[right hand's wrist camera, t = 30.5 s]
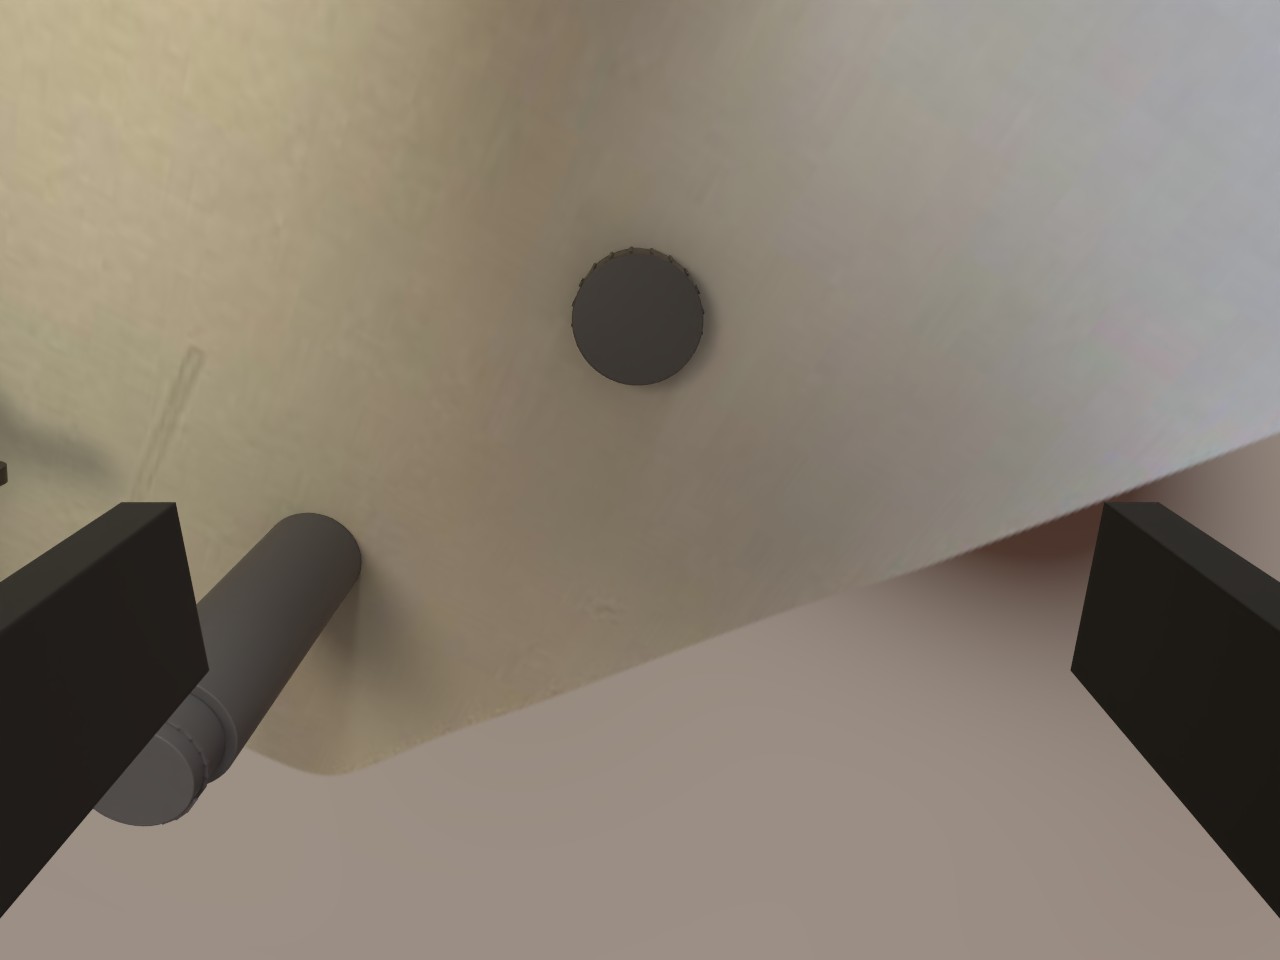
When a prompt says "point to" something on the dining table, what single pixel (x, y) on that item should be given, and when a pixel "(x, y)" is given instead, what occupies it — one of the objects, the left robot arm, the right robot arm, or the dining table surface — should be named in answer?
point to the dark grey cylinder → (240, 664)
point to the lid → (637, 317)
